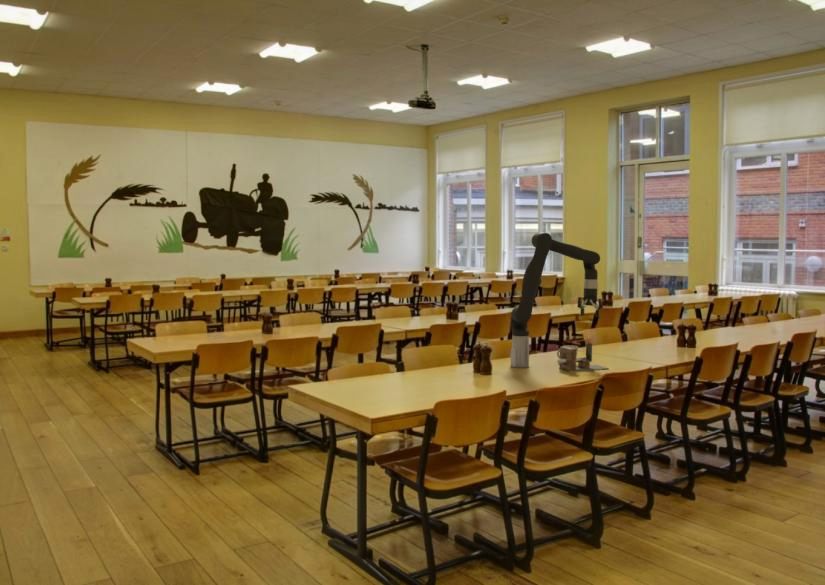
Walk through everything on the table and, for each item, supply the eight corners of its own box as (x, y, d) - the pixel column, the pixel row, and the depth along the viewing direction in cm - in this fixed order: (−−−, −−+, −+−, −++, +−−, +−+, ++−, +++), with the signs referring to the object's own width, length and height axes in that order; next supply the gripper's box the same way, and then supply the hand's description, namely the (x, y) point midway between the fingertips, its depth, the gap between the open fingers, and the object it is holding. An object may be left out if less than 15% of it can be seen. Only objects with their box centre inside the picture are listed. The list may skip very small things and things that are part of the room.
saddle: (583, 369, 388) (583, 360, 388) (578, 368, 393) (578, 359, 393) (589, 369, 389) (589, 360, 389) (584, 367, 394) (584, 358, 394)
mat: (569, 371, 382) (569, 370, 382) (559, 368, 393) (559, 367, 393) (608, 369, 390) (608, 368, 390) (597, 365, 400) (597, 364, 400)
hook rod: (559, 364, 384) (559, 339, 383) (555, 363, 388) (556, 338, 387) (593, 361, 391) (594, 337, 390) (589, 360, 394) (590, 337, 393)
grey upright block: (569, 371, 383) (569, 349, 382) (559, 368, 392) (559, 346, 391) (575, 371, 384) (576, 348, 383) (566, 368, 393) (566, 346, 393)
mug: (573, 365, 401) (574, 347, 400) (553, 363, 409) (553, 345, 408) (580, 363, 408) (580, 346, 407) (559, 361, 415) (559, 344, 415)
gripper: (575, 287, 406) (575, 315, 407) (599, 288, 397) (598, 317, 398) (582, 286, 412) (581, 314, 413) (605, 287, 403) (604, 316, 404)
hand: (589, 316), depth 406 cm, fingers open, 8 cm apart
